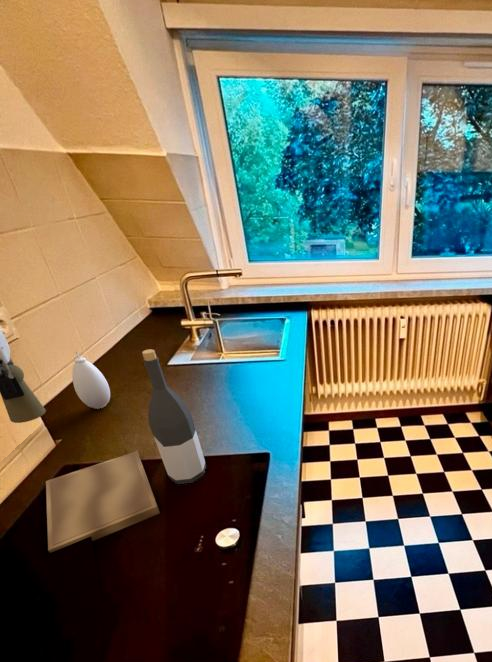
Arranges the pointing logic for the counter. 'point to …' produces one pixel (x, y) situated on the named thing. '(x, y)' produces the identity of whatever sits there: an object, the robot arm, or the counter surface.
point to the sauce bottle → (90, 384)
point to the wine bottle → (173, 427)
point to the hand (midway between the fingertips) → (14, 390)
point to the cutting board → (98, 501)
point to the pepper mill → (22, 401)
